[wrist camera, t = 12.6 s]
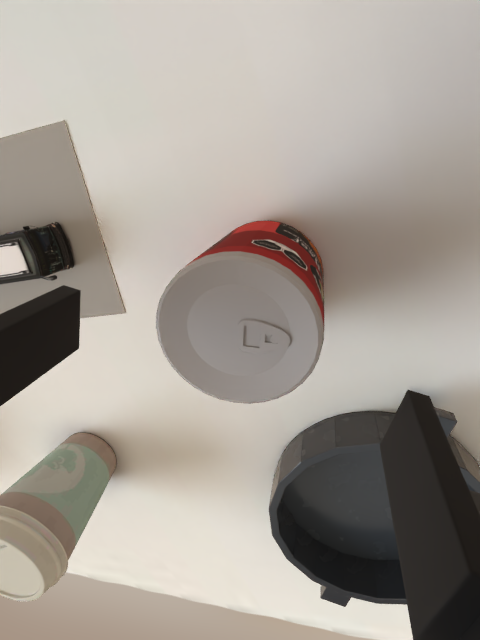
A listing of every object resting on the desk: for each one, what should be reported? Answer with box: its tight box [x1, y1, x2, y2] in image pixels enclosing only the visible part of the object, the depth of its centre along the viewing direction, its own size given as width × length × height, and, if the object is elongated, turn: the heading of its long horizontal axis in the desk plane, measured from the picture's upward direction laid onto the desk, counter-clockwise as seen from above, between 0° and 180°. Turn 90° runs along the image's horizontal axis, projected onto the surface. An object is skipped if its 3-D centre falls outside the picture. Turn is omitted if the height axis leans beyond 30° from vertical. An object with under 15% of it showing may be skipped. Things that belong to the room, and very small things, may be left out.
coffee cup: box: [0, 433, 117, 601], centre depth 33 cm, size 8×8×12 cm
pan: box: [269, 407, 480, 607], centre depth 31 cm, size 17×23×4 cm
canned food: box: [156, 221, 324, 403], centre depth 22 cm, size 8×8×11 cm
